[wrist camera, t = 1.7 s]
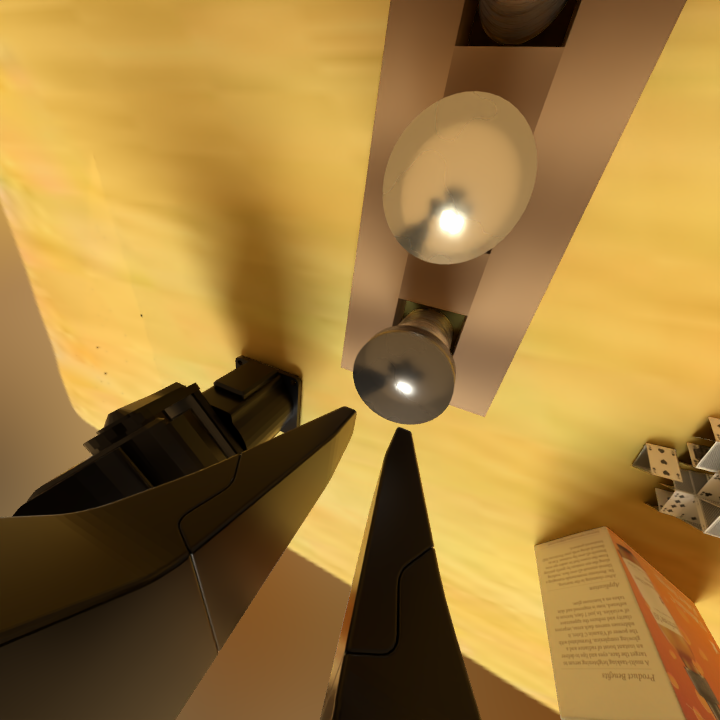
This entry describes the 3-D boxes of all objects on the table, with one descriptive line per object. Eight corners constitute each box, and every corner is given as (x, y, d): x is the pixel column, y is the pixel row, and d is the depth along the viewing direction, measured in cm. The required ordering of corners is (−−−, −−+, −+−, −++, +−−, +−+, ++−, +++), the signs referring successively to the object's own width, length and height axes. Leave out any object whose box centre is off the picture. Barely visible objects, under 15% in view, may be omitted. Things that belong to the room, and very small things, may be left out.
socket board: (483, 383, 19) (484, 417, 15) (362, 345, 21) (340, 367, 18) (705, -112, 9) (837, -310, 6) (437, -82, 11) (419, -210, 8)
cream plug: (492, 258, 13) (499, 277, 8) (409, 242, 14) (372, 250, 9) (530, 153, 11) (570, 95, 6) (431, 143, 12) (398, 87, 7)
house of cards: (591, 347, 16) (666, 429, 10) (809, 380, 13) (1120, 526, 7) (541, 460, 20) (569, 571, 14) (699, 504, 17) (829, 668, 11)
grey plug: (449, 374, 16) (436, 438, 11) (384, 354, 17) (347, 404, 12) (473, 309, 14) (470, 352, 9) (399, 291, 15) (360, 320, 10)
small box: (683, 582, 19) (853, 879, 11) (601, 594, 22) (679, 832, 14) (599, 506, 19) (697, 739, 11) (528, 529, 22) (559, 724, 14)
